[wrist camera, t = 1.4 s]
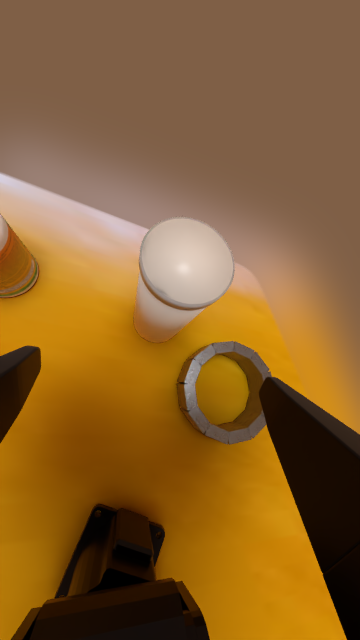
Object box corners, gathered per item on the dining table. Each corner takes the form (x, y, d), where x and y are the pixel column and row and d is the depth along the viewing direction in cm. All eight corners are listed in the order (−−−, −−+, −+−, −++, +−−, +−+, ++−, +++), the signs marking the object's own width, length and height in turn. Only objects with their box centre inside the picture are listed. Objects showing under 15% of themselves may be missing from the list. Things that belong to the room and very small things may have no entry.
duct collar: (243, 448, 23) (260, 458, 20) (163, 414, 22) (169, 420, 19) (265, 365, 26) (283, 364, 23) (195, 333, 25) (204, 327, 22)
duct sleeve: (169, 351, 24) (217, 322, 11) (123, 331, 23) (121, 277, 11) (187, 309, 25) (245, 244, 13) (145, 289, 25) (164, 201, 12)
